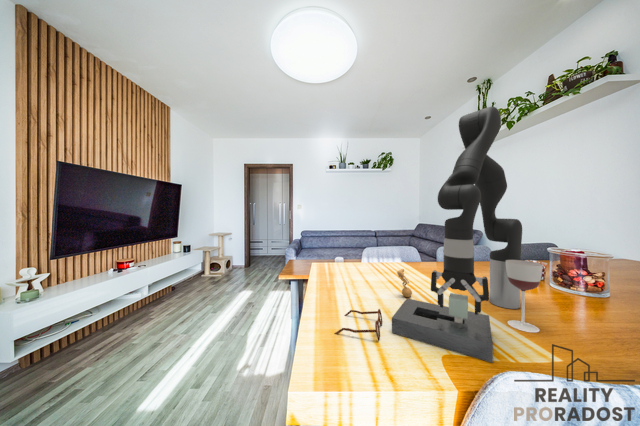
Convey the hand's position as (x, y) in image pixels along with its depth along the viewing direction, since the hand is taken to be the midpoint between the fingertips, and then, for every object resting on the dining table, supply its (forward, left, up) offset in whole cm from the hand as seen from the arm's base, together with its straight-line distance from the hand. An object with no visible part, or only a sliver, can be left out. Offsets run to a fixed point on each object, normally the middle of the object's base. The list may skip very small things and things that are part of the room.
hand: (458, 309), depth 65 cm
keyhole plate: (0, -4, -8) cm, 9 cm away
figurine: (-22, -20, -8) cm, 31 cm away
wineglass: (-18, +16, -8) cm, 26 cm away
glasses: (+11, -26, -8) cm, 29 cm away
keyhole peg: (0, 0, -8) cm, 8 cm away
